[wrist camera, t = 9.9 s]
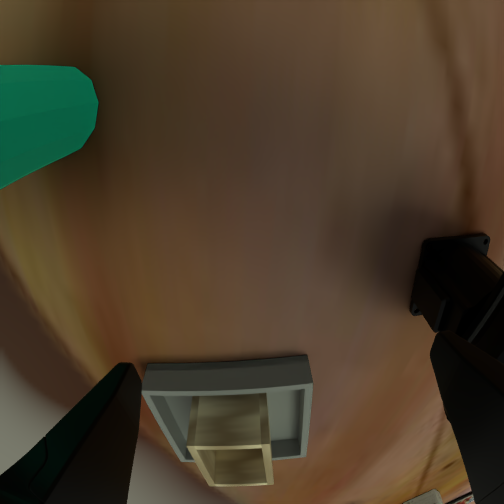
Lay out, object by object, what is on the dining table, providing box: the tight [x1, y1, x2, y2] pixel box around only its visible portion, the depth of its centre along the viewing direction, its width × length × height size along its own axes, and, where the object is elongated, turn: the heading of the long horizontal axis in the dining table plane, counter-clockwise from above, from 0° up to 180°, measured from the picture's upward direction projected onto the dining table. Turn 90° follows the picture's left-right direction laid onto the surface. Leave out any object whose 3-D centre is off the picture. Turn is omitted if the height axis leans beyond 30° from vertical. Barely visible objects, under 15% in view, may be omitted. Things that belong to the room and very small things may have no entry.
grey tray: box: [142, 355, 313, 462], centre depth 27 cm, size 13×13×3 cm
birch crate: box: [186, 393, 274, 486], centre depth 25 cm, size 6×9×6 cm, turn 5°
